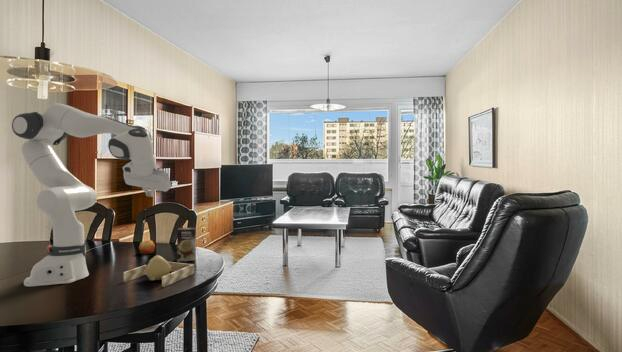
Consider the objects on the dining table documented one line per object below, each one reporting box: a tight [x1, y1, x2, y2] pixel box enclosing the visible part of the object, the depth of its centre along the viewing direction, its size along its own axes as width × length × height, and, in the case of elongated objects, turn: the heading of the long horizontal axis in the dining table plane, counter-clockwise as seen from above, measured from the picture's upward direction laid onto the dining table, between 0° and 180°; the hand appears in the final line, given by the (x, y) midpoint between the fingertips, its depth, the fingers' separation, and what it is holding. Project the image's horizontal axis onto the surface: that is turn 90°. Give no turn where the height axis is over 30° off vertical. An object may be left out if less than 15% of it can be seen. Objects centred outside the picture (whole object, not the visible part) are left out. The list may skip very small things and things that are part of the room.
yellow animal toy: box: [145, 254, 172, 282], centre depth 154 cm, size 10×12×11 cm
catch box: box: [123, 261, 196, 288], centre depth 157 cm, size 20×20×4 cm
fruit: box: [138, 239, 156, 255], centre depth 201 cm, size 8×8×8 cm
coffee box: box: [176, 227, 197, 263], centre depth 187 cm, size 9×6×16 cm
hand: (150, 195), depth 159 cm, fingers closed
